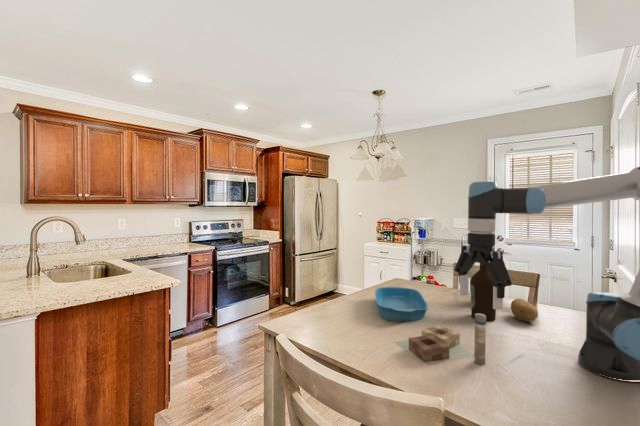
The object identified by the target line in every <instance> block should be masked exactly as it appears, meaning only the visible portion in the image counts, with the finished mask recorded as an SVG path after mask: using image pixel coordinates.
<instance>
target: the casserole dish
mask: <svg viewBox="0 0 640 426" xmlns="http://www.w3.org/2000/svg"><path fill="white" fill-rule="evenodd" d="M374 293H375V294H374V295H375V303H376V307H377V309H378V310H377V311H378V313H379V314H380V316H381V317H382V318H383V319H384V320H386V321H390V322H410V321H420V320H423V319H424V317H425V315H426V313H427V310H428V307H429V305H428V303H427V301H426V299H425V298H424V296H423V295H422V293H421V292H420V291H419V290H417V289H414V288H409V287H403V286H382V287H377V288H376V289H375V292H374Z"/></svg>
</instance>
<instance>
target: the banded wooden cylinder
mask: <svg viewBox="0 0 640 426" xmlns="http://www.w3.org/2000/svg"><path fill="white" fill-rule="evenodd" d="M486 326H487V321H486V315H484V314H480V313H477V314H475V318H474V347H473V348H474V349H473V350H474V356H473V357H474V359H473V361H474V363H475V364H476V365H477V366H478V365H479V366H485V365H486V339H487V337H486V330H487V329H486V328H487V327H486Z"/></svg>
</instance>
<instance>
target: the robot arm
mask: <svg viewBox="0 0 640 426" xmlns="http://www.w3.org/2000/svg"><path fill="white" fill-rule="evenodd" d="M624 199H625V200H626V199H634V200H636V201H640V166H638V167H632V168H630V169H628V171H626V172H622V173H621V172H620V173H614V174H608V175H601V176H595V177H587V178H581V179H574V180H569V181H562V182H555V183H548V184H543V185H535V186H529V187H517V188H516V187H515V188H513V187H512V188H510V187H509V188H508V187H507V188H502V187H501V188H500V187H498V186H497V182H495V181H473V182H471V183H470V184H469V188H468V202H467V203H468V204H467V205H468V206H467V207H468V210H467V213H468V214H467V231H468V233H467V245H462V246H461V251H460V254H459V257H458V259H457V262H456V265H455V267H454V270H453V271H454V272H456V273H457V274H458V277H459V280H458V282H459V296H461V297H463V296H469V284H470V283H469V282H470V281H469V280H470V279H469V277H470V276H469V271H470V270H471V269H472V268H473V266H475V264H476V263H479V265H480V264H483V265H484V266H485V267H486V268H487V270H488V272H489V273H490V275H491V277H492V279H493V281H494V283H495V284H496V285H495V286H493V309H496V310H501V309H503V306H504V303H503V302H504V301H503V300H504V298H505V297H506V296H505V295H506V294H505V293H506V290H505V289H506V287H510V286H513V285H512V284H513V283H512V280H511V277H510V275H509V272H508V269H507V267H506V264H505V261H504V257H503V251H502V250H496V251H494V247H495V245H496V234H495V232H496V217H497V215H496V214H513V215H514V214H516V215H517V214H518V215H539V214H542V213H543V212H544V211H545V209H552V208H553V209H554V208H559V207H560V208H561V207H569V206H578V205H585V204H591V203H601V202H607V201H608V202H610V201H618V200H624ZM586 296H587V297H586V301H585V303H586V313H585V314H586V316H585V317H586V322H585V323H586V325H585V326H586V327H585V329H586V331H585V339H584V342H583V343H582V346H581V348H580V350H579V352H578V356H577V358H578V359H577V361H579V362H578V364H579V363H580V364H581V365H582V366H581V365H580V366H581V367H583V366H584V367H585V368H584V367H583V368H584V369H586V368H587V369H589V370H591V371H593V372H595V373H598V374H601V375H604V376H607V377H611V378H616V379H622V380H640V268H639V269H638V272H637V274H636V276H635V279H634V280H633V283H632V285H631V288H630V290H629V292H628V293H625V294H623V293H612V292H606V291H605V292H601V291H591V292H589V293H587V295H586ZM587 369H586V370H587ZM589 370H588V371H589ZM591 371H590V372H591ZM593 372H592V373H593ZM595 373H594V374H595ZM598 374H597V375H598ZM601 375H600V376H601Z"/></svg>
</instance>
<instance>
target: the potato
mask: <svg viewBox="0 0 640 426" xmlns="http://www.w3.org/2000/svg"><path fill="white" fill-rule="evenodd" d="M510 310H511V313H512V315H513V316H514V317H515V318H517V319H518V320H521V321H524V322H528V323H530V322H533V321H535V320H536V319H537V318H538V317H539V313H538V309H537V308H536V307H535V306H534V304H532V303H531V302H529V301H527V300H525V299H522V298H515V299H513V300H511V304H510Z"/></svg>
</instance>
